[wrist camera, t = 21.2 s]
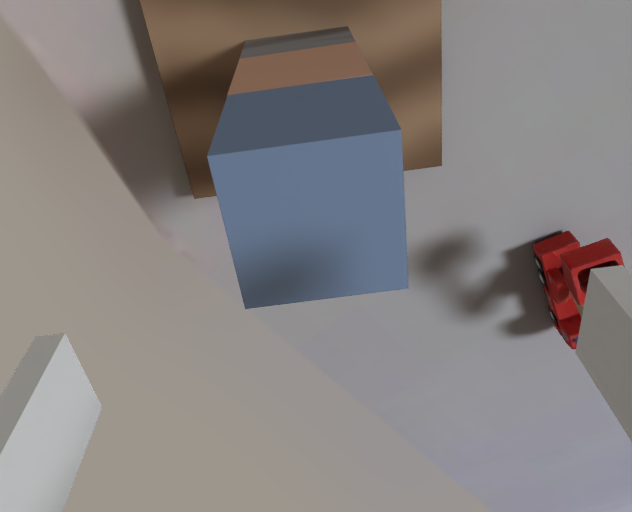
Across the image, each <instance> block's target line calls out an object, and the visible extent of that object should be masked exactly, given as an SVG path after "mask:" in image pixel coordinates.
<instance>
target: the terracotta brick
mask: <svg viewBox="0 0 632 512" xmlns="http://www.w3.org/2000/svg"><path fill="white" fill-rule="evenodd" d="M368 75H373V74H372V72H371V70H370V68H369V66H368V64H367V62H366V60H365V58H364V56H363V54H362V52H361V50H360V48H359V46H358V44H357V42H350V43H343V44H336V45H330V46H323V47H316V48H309V49H302V50H296V51H289V52H282V53H275V54H269V55H262V56H255V57H248V58H242V59H239V62H238V65H237V68H236V71H235V74H234V77H233V79H232V82H231V85H230V88H229V91H228V94H227V96H228V95H232V94H240V93H247V92H254V91H261V90H268V89H275V88H282V87H289V86H297V85H304V84H311V83H318V82H325V81H332V80H339V79H346V78H354V77H361V76H368Z"/></svg>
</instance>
